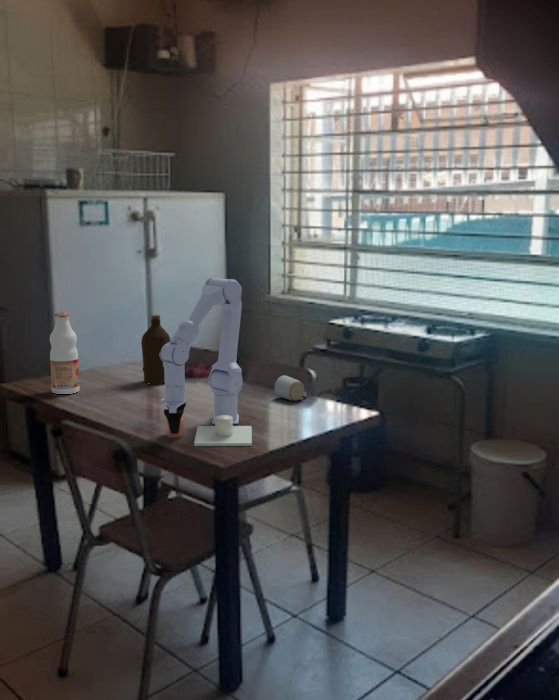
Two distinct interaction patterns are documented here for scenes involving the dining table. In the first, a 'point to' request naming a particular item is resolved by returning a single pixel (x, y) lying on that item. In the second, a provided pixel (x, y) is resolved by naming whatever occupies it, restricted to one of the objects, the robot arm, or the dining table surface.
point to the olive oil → (154, 351)
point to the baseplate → (208, 437)
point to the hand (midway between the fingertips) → (175, 430)
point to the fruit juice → (64, 356)
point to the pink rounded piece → (181, 430)
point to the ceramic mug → (289, 388)
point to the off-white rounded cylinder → (223, 426)
